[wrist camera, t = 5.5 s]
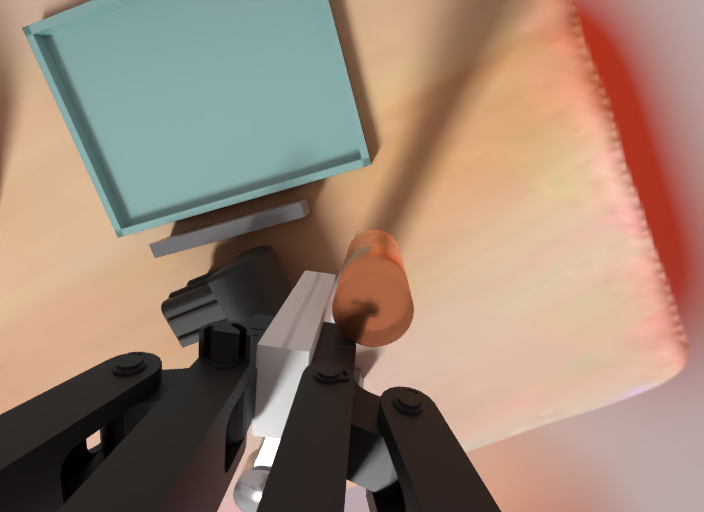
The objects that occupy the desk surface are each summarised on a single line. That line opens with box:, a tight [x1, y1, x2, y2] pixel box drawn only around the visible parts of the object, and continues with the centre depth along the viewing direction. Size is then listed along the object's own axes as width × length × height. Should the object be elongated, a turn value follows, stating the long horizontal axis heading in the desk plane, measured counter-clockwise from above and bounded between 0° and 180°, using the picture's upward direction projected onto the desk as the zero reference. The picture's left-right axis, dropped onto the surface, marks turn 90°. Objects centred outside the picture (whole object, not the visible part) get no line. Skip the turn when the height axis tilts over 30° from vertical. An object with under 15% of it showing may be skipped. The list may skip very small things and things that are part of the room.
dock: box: [149, 198, 364, 449], centre depth 24 cm, size 11×16×8 cm
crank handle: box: [233, 230, 414, 512], centre depth 16 cm, size 3×18×8 cm, turn 157°
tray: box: [22, 0, 371, 237], centre depth 23 cm, size 19×14×1 cm
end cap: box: [161, 245, 293, 347], centre depth 25 cm, size 10×7×7 cm
